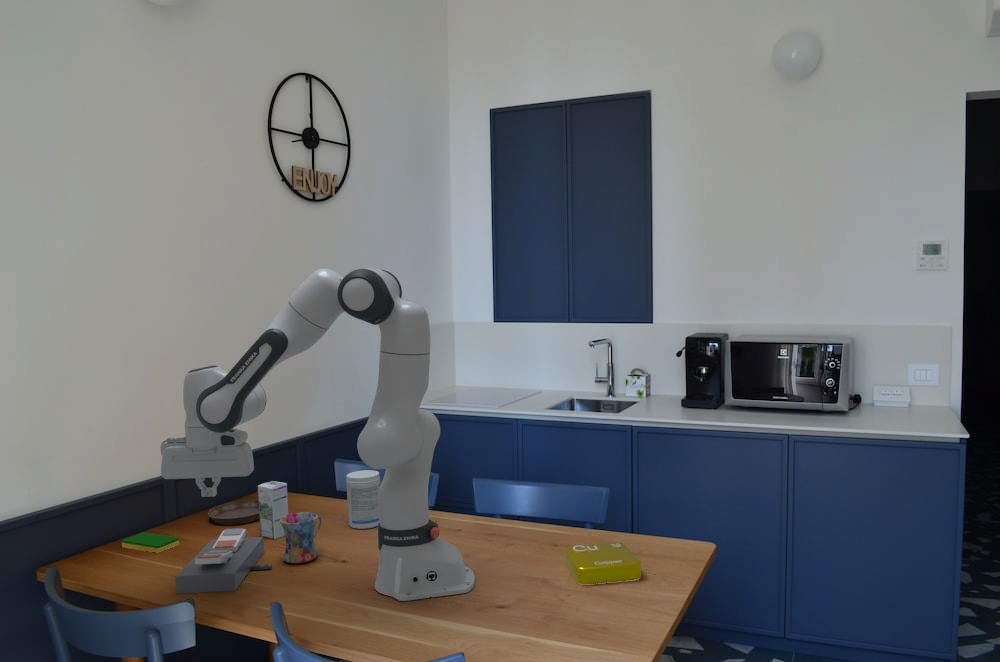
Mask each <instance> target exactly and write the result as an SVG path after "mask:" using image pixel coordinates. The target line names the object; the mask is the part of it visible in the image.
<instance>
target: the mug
mask: <svg viewBox="0 0 1000 662" xmlns="http://www.w3.org/2000/svg"><path fill="white" fill-rule="evenodd" d="M317 521H318V525H317ZM322 521H323V520H322V518H321V517H320V516H319V515H318V514H317V513H314V512H307V511H305V512H304V511H303V512H294V513H290V514H289V513H288V515H286V516H283V517H282V518H280V523H281V525H282V527H283V530H284V533H285V536H284V537H285V551H284V554H283V557H282V559H283V561H284V562H287V563H288V564H289V563H291V564H303V563H308V562H310V561H314V560H315V559H316V558H317V557H318V556H319V553H318V550H317V548H316V546H315V538H316V536H317V535H318V534H319V531H320V529H321V526H322ZM316 525H317V528H316ZM315 528H316V531H315Z"/></svg>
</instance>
